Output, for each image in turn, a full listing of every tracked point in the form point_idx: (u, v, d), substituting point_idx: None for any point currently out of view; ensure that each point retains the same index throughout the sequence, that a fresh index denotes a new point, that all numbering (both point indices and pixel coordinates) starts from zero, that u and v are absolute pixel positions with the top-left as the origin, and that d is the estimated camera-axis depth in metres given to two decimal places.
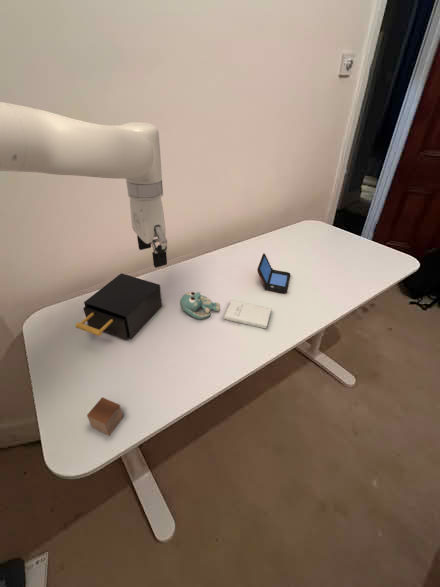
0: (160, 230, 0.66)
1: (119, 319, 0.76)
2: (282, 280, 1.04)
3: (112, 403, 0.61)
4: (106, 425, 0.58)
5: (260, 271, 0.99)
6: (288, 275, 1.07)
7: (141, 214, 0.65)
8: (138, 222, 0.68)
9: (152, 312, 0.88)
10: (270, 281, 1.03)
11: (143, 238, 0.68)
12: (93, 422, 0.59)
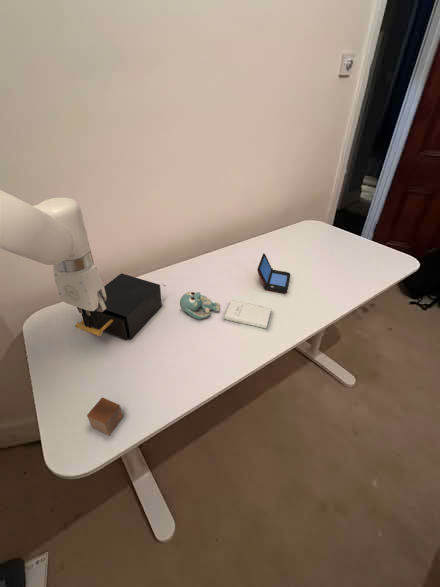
0: (101, 298, 0.68)
1: (119, 319, 0.76)
2: (282, 280, 1.04)
3: (112, 403, 0.61)
4: (106, 425, 0.58)
5: (260, 271, 0.99)
6: (288, 275, 1.07)
7: (82, 285, 0.63)
8: (75, 294, 0.66)
9: (152, 312, 0.88)
10: (270, 281, 1.03)
11: (86, 307, 0.67)
12: (93, 422, 0.59)
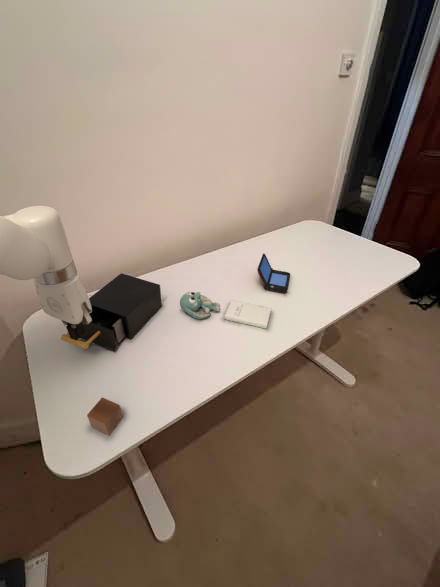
0: (85, 311, 0.64)
1: (107, 331, 0.73)
2: (282, 280, 1.04)
3: (112, 403, 0.61)
4: (106, 425, 0.58)
5: (260, 271, 0.99)
6: (288, 275, 1.07)
7: (64, 298, 0.60)
8: (58, 306, 0.62)
9: (152, 312, 0.88)
10: (270, 281, 1.03)
11: (70, 320, 0.63)
12: (93, 422, 0.59)
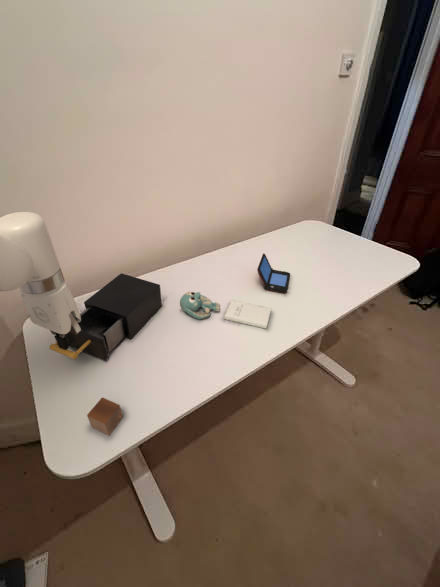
0: (74, 320, 0.62)
1: (97, 340, 0.70)
2: (282, 280, 1.04)
3: (112, 403, 0.61)
4: (106, 425, 0.58)
5: (260, 271, 0.99)
6: (288, 275, 1.07)
7: (51, 308, 0.57)
8: (45, 316, 0.60)
9: (152, 312, 0.88)
10: (270, 281, 1.03)
11: (57, 330, 0.61)
12: (93, 422, 0.59)
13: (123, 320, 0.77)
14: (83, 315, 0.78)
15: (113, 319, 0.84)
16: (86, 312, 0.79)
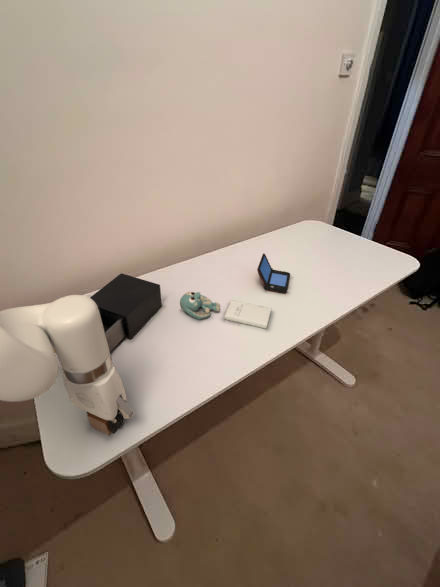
0: (123, 403, 0.55)
1: None
2: (282, 280, 1.04)
3: None
4: (106, 425, 0.58)
5: (260, 271, 0.99)
6: (288, 275, 1.07)
7: (98, 397, 0.50)
8: (89, 402, 0.53)
9: (152, 312, 0.88)
10: (270, 281, 1.03)
11: (102, 416, 0.54)
12: (93, 422, 0.59)
13: (122, 321, 0.77)
14: None
15: (112, 320, 0.83)
16: None
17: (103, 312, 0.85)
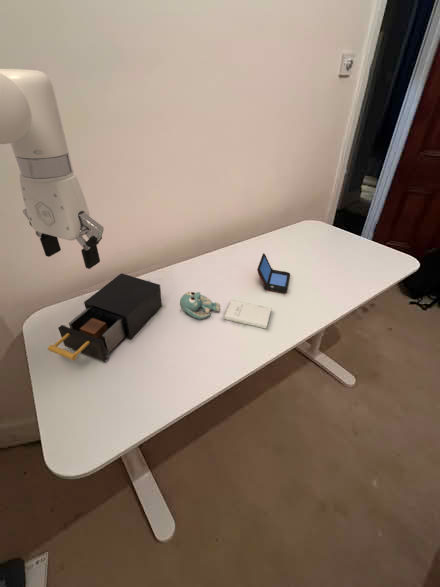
0: (88, 217, 0.51)
1: (96, 341, 0.70)
2: (282, 280, 1.04)
3: (100, 321, 0.76)
4: (95, 336, 0.74)
5: (260, 271, 0.99)
6: (288, 275, 1.07)
7: (57, 200, 0.48)
8: (49, 215, 0.50)
9: (152, 312, 0.88)
10: (270, 281, 1.03)
11: (64, 234, 0.51)
12: None
13: (122, 321, 0.77)
14: (82, 316, 0.78)
15: (112, 320, 0.83)
16: (85, 313, 0.78)
17: (103, 312, 0.85)
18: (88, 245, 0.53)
